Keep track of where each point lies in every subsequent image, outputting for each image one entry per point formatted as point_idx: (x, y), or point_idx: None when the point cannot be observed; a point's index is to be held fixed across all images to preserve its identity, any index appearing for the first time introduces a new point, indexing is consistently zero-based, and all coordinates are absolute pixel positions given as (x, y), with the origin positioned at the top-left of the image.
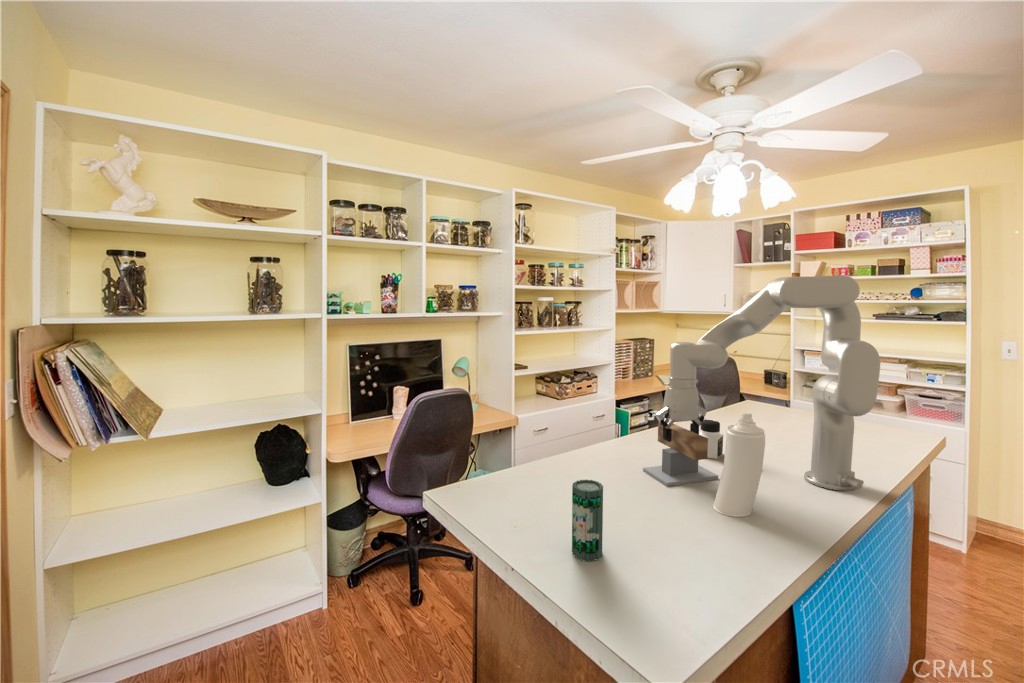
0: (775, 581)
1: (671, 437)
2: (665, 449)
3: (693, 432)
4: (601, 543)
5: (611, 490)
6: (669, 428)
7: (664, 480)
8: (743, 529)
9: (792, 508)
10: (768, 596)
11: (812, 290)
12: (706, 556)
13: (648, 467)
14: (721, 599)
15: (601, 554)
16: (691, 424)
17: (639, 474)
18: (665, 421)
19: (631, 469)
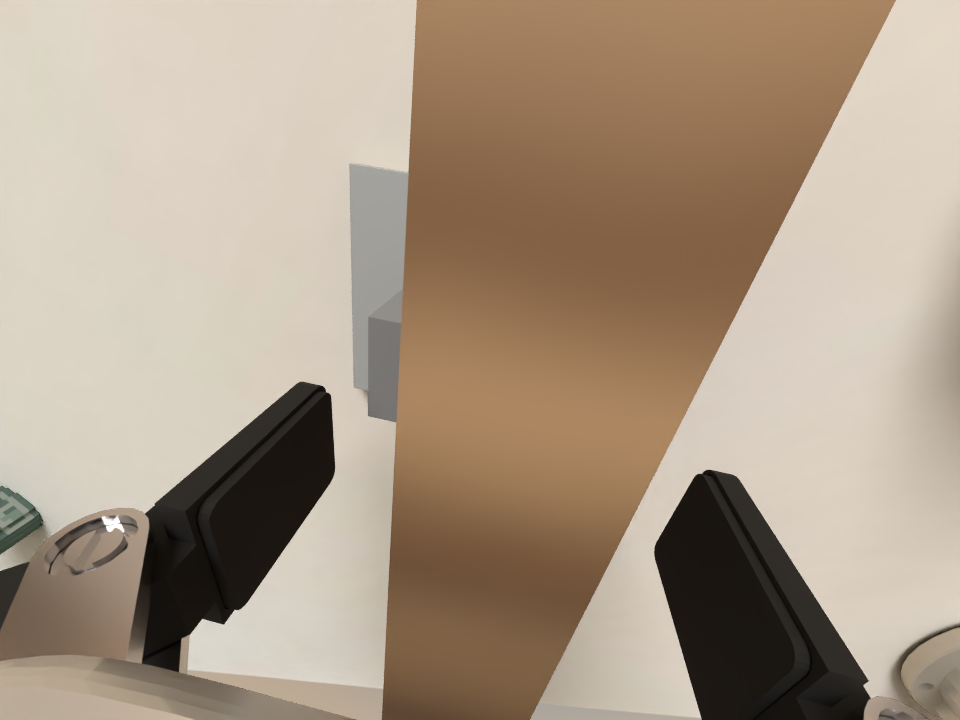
0: (309, 675)
1: (310, 510)
2: (386, 339)
3: (550, 668)
4: (3, 551)
5: (111, 293)
6: (206, 603)
7: (360, 365)
8: (386, 614)
9: (612, 643)
10: (274, 676)
11: None
12: (242, 611)
13: (388, 174)
14: (206, 651)
15: (35, 529)
16: (782, 673)
17: (313, 199)
18: (56, 654)
19: (303, 95)
